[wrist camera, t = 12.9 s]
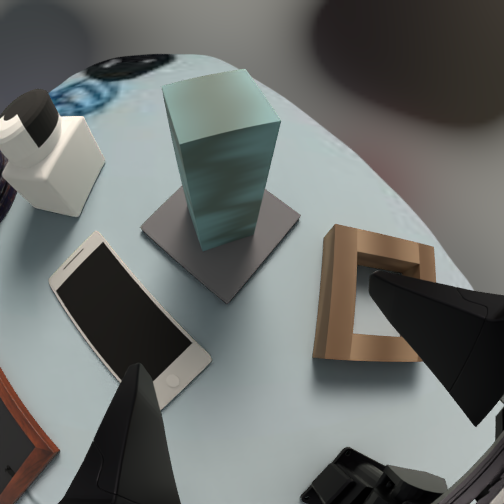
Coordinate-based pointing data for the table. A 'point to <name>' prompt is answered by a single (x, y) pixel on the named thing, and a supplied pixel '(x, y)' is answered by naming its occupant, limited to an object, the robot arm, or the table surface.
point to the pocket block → (344, 292)
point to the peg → (222, 151)
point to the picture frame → (19, 445)
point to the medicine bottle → (48, 154)
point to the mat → (225, 256)
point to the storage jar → (5, 190)
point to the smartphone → (125, 319)
